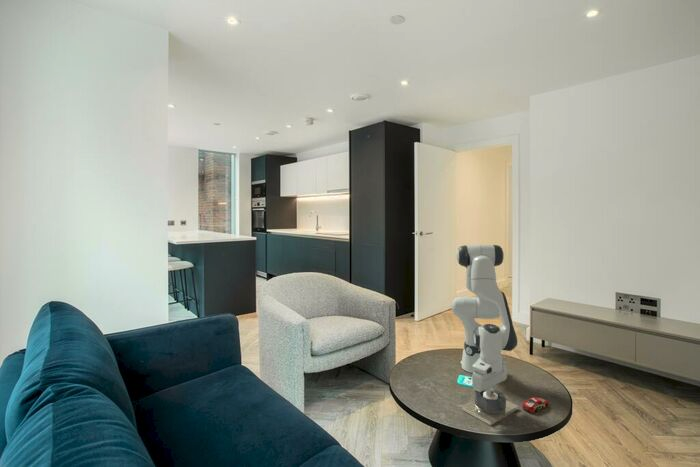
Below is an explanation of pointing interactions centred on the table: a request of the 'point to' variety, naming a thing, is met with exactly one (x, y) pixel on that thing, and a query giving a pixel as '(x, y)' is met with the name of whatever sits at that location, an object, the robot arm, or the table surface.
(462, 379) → the handheld game console
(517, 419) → the table surface
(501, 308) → the robot arm
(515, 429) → the table surface
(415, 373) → the table surface
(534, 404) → the race car
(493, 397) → the halved boiled egg
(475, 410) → the grey socket on board
